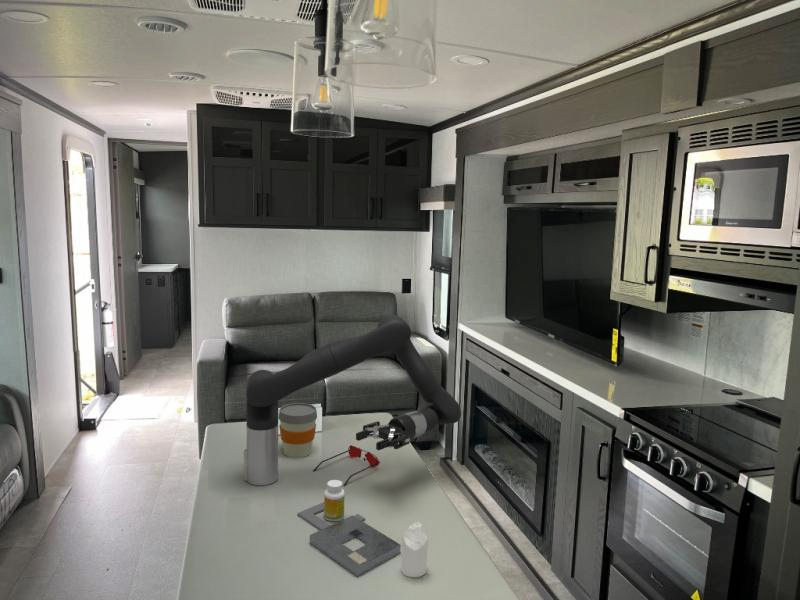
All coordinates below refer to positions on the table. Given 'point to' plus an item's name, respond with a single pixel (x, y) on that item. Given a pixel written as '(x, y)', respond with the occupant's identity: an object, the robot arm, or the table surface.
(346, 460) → the table surface
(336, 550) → the socket block
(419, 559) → the white plastic bottle
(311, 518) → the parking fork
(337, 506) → the supplement bottle
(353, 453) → the glasses
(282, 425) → the reusable coffee cup
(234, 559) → the table surface
